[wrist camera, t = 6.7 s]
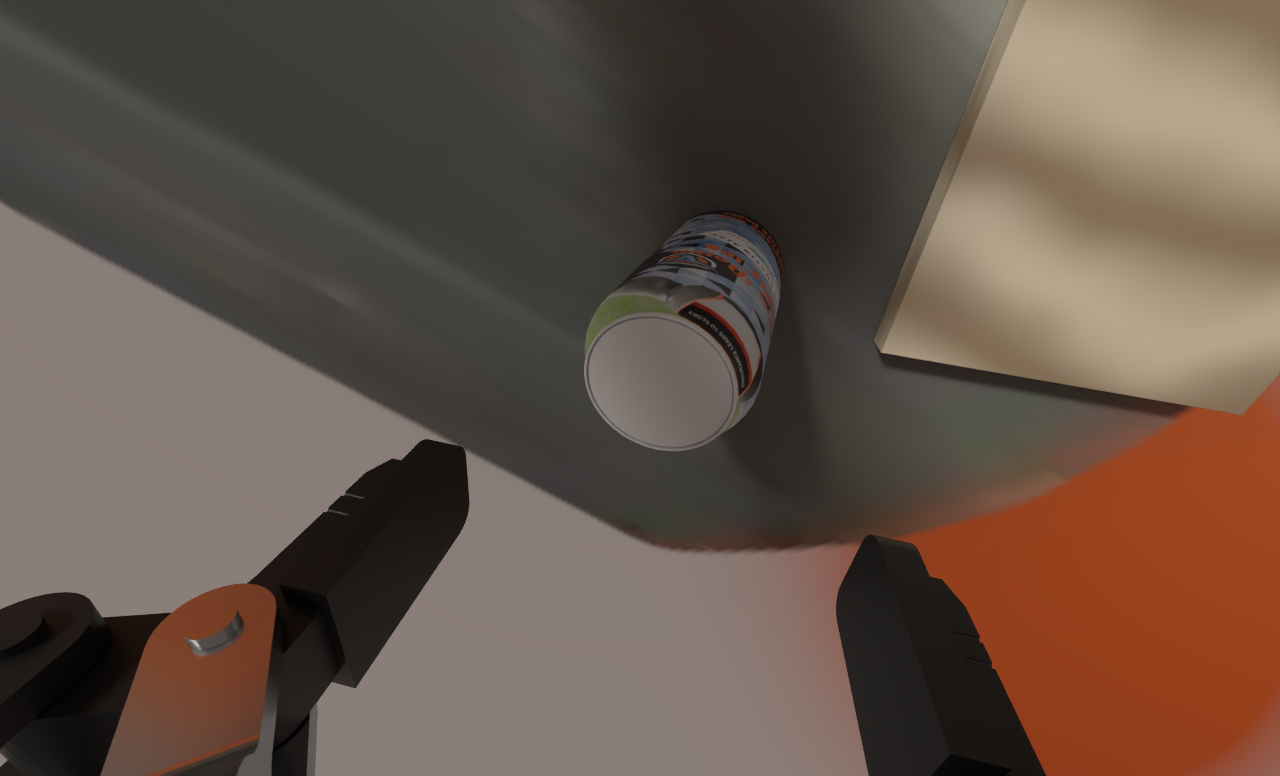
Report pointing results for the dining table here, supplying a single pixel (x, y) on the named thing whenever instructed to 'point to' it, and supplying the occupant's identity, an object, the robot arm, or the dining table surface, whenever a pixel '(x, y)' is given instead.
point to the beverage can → (687, 334)
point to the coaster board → (1110, 206)
